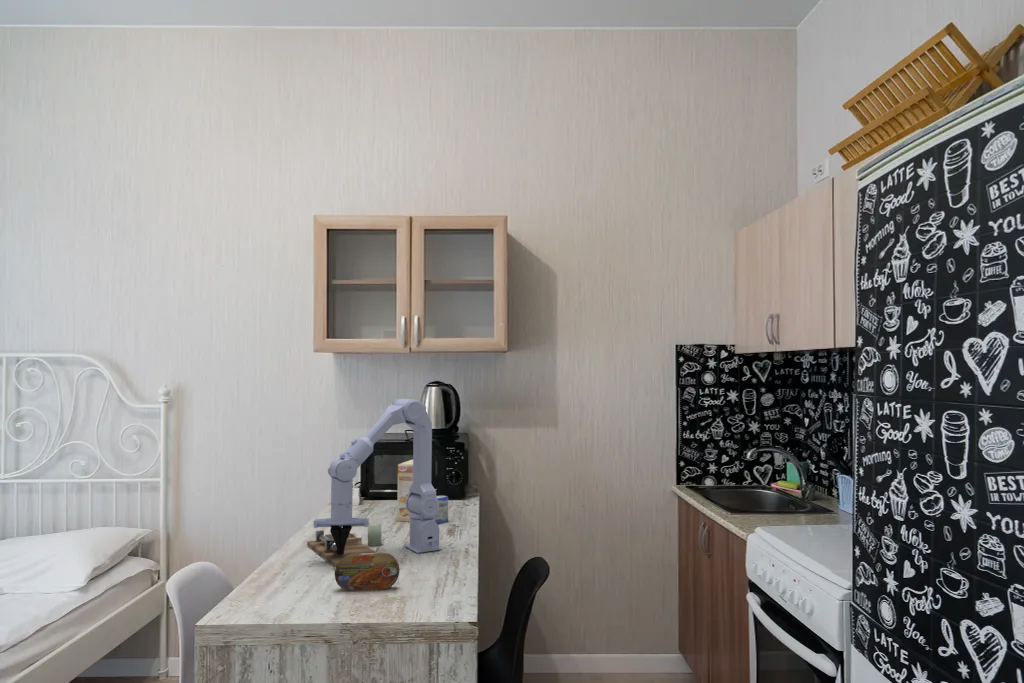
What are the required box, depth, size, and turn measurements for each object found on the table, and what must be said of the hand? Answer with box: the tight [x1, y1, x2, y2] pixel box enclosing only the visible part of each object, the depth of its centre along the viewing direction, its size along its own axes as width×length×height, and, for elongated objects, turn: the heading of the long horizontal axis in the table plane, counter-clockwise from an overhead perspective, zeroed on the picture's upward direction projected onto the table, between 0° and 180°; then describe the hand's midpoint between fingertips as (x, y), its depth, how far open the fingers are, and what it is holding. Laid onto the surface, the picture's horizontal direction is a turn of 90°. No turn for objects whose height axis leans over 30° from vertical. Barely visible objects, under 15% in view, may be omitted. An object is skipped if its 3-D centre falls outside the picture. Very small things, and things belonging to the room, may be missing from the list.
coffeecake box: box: [396, 458, 413, 523], centre depth 246 cm, size 15×7×20 cm, turn 168°
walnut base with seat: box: [306, 530, 378, 568], centre depth 197 cm, size 29×13×3 cm, turn 32°
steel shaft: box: [319, 534, 338, 554], centre depth 197 cm, size 16×3×3 cm, turn 32°
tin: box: [334, 552, 400, 592], centre depth 166 cm, size 15×3×8 cm, turn 98°
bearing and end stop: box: [315, 529, 335, 553], centre depth 200 cm, size 14×4×3 cm, turn 32°
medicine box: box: [435, 495, 449, 525], centre depth 237 cm, size 8×4×9 cm, turn 143°
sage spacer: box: [367, 522, 383, 547], centre depth 207 cm, size 4×4×6 cm
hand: (340, 553), depth 189 cm, fingers closed
